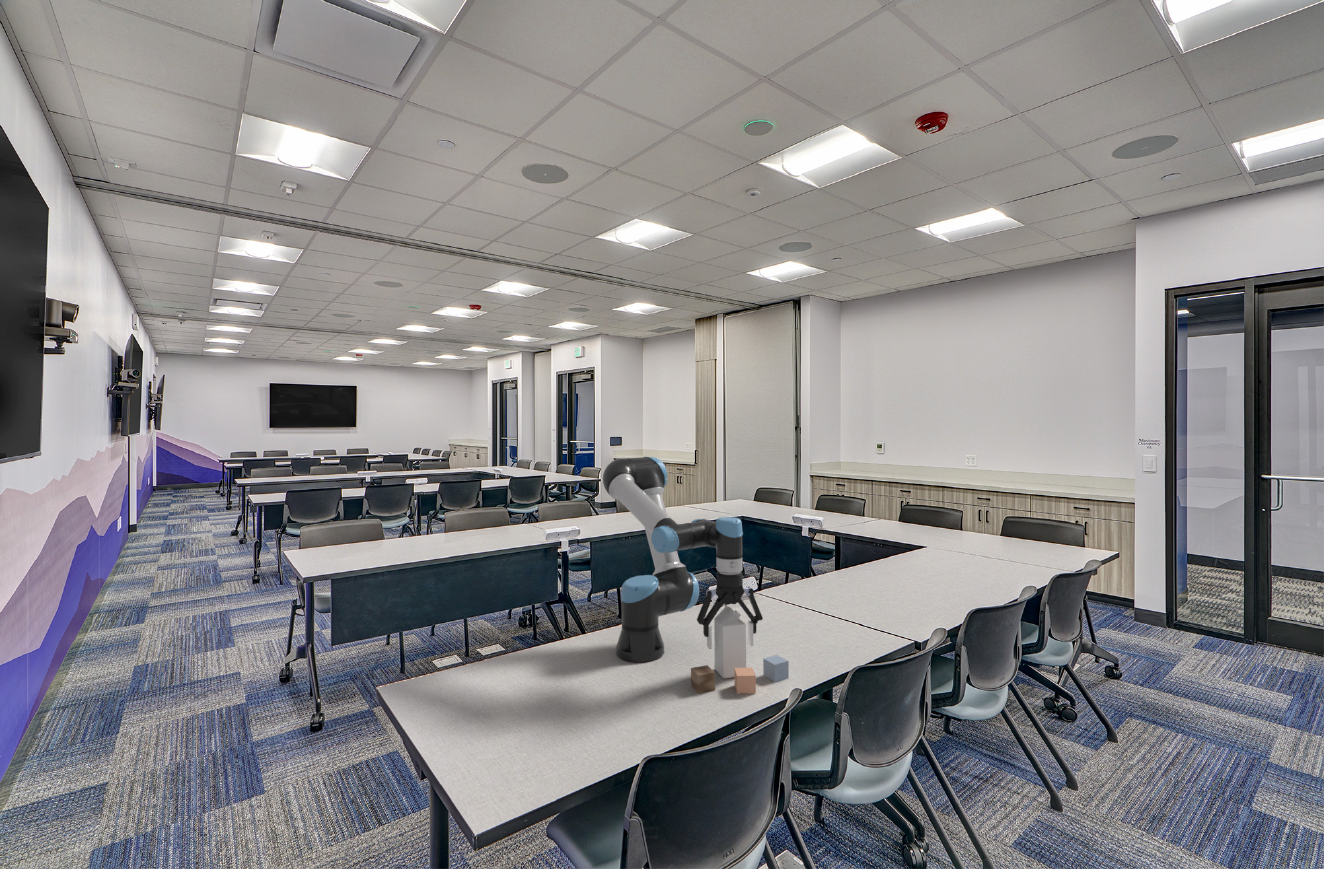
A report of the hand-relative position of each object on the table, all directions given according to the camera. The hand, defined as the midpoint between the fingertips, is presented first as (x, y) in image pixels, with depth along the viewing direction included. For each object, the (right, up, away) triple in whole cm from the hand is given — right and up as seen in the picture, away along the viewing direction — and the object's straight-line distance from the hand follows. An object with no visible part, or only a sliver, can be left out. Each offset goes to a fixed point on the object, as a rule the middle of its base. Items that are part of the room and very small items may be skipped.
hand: (730, 646), depth 167 cm
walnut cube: (-9, -8, -9) cm, 15 cm away
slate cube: (+13, -8, -3) cm, 15 cm away
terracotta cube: (+3, -8, -11) cm, 14 cm away
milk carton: (0, -8, 0) cm, 8 cm away
